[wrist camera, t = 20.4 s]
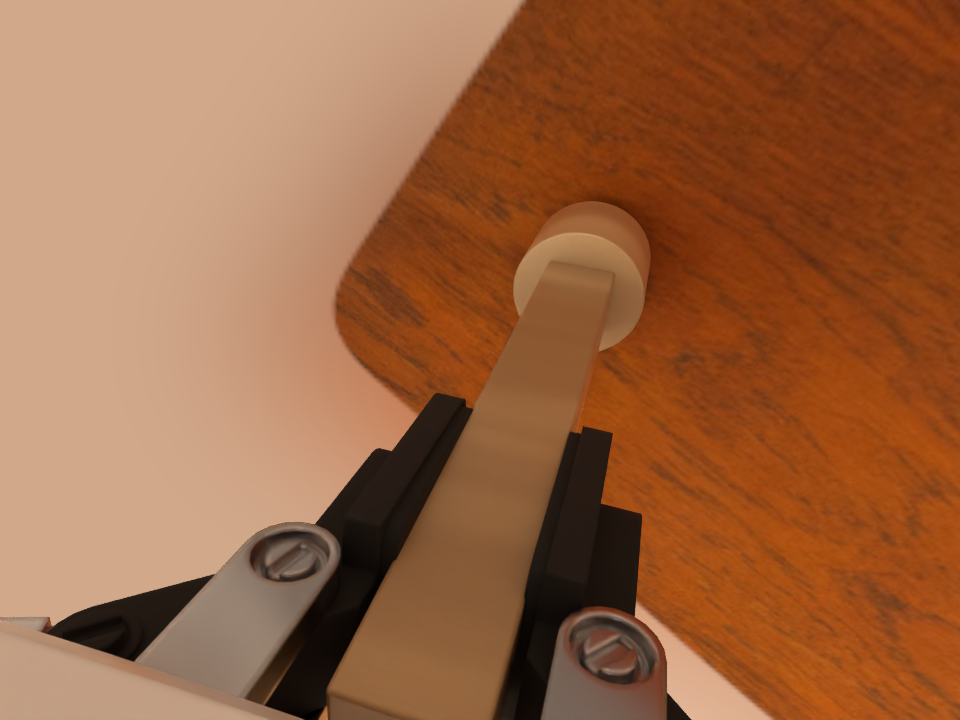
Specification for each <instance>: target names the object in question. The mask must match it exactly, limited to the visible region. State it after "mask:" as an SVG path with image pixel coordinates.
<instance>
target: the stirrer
mask: <svg viewBox="0 0 960 720" xmlns="http://www.w3.org/2000/svg"><path fill="white" fill-rule="evenodd" d="M650 262H651V253H650V246H649V243H648V239H647V237H646V235H645V233H644V231H643V229H642V228H641V226H640V225H639V224H638V222H637V221H636V220H635V219H634V218H633V217H632V216H631V215H629V214H628V213H627V212H625V211H624V210H622V209H620V208H618V207H616V206H614V205H611V204H608V203H604V202H597V201H585V202H579V203H575V204H571V205H569V206H566V207H564V208H562V209H561V210H559V211H557V212H556V213H555V214H554V215H552V216H551V217H550V218H549V219H548V220H547V221H546V223H545V224H544V225H543V227H542V228H541V230H540V231H539V233H538V235H537V236H536V238H535V239H534V241H533V243H532V244H531V246H530V248H529V249H528V251H527V252H526V254H525V256H524V257H523V259H522V260H521V262H520V264H519V266H518V268H517V271H516V274H515V278H514V284H513V295H514V301H515V306H516V309H517V311H518V314H519V316H520V318H519V320H518V322H517V324H516V326H515V328H514V330H513V332H512V334H511V336H510V337H509V339H508V341H507V343H506V345H505V347H504V349H503V351H502V353H501V355H500V357H499V359H498V360H497V362H496V364H495V366H494V368H493V370H492V372H491V374H490V376H489V378H488V380H487V382H486V383H485V385H484V387H483V389H482V391H481V393H480V395H479V397H478V399H477V401H476V403H475V405H474V406H473V408H472V409H474V410H473V411H472V413H471V415H470V417H469V419H468V421H467V423H466V425H465V427H464V429H463V431H462V433H461V435H460V437H459V439H458V441H457V443H456V444H455V446H454V448H453V450H452V452H451V454H450V456H449V458H448V460H447V462H446V464H445V466H444V468H443V470H442V472H441V474H440V476H439V477H438V479H437V481H436V483H435V485H434V487H433V489H432V491H431V493H430V495H429V497H428V499H427V501H426V503H425V505H424V507H423V509H422V510H421V512H420V514H419V516H418V518H417V520H416V522H415V524H414V526H413V528H412V530H411V532H410V534H409V536H408V538H407V540H406V542H405V543H404V545H403V547H402V549H401V551H400V553H399V555H398V557H397V559H396V560H394V561H393V562H392V564H391V566H390V568H389V569H388V571H387V573H386V575H385V577H384V579H383V581H382V583H381V585H380V587H379V589H378V591H377V592H376V594H375V596H374V598H373V600H372V602H371V604H370V606H369V608H368V610H367V612H366V614H365V616H364V617H363V619H362V621H361V623H360V625H359V627H358V629H357V631H356V633H355V635H354V637H353V639H352V640H351V642H350V644H349V646H348V648H347V650H346V652H345V654H344V656H343V658H342V660H341V662H340V663H339V665H338V667H337V669H336V671H335V673H334V675H333V677H332V679H331V681H330V683H329V685H328V686H327V691H326V696H327V713H328V720H502V716H503V713H504V709H505V705H506V701H507V697H508V694H509V689H510V683H511V678H512V673H513V667H514V662H515V657H516V651H517V646H518V641H519V635H520V630H521V625H522V619H523V614H524V609H525V604H526V600H525V597H524V595H525V589H526V584H527V579H528V575H529V570H530V566H531V562H532V558H533V555H534V551H535V548H536V544H537V541H538V538H539V534H540V531H541V527H542V524H543V521H544V517H545V514H546V511H547V507H548V504H549V500H550V497H551V494H552V490H553V487H554V483H555V480H556V477H557V473H558V470H559V466H560V463H561V460H562V456H563V453H564V449H565V446H566V443H567V439H568V436H569V433H570V431H571V432H575V433H577V431H578V427H579V423H580V419H581V415H582V412H583V408H584V404H585V400H586V396H587V393H588V389H589V385H590V381H591V377H592V374H593V370H594V366H595V362H596V358H597V355H598V351H601V350H604V349H607V348H609V347H611V346H614V345H615V344H617V343H619V342H620V341H622V340H623V339H624V338H625V337H626V336H627V335H628V334H629V333H630V332H631V331H632V330H633V329H634V327H635V326H636V324H637V322H638V320H639V318H640V316H641V313H642V310H643V306H644V300H645V293H646V287H647V281H648V275H649V269H650Z"/></svg>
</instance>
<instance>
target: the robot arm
mask: <svg viewBox="0 0 960 720" xmlns="http://www.w3.org/2000/svg"><path fill="white" fill-rule="evenodd" d="M473 410H474V409H472V408H467V407H466V401H465V399H462V398H458V397H453V396H449V395H445V394H440V393H436V394H435V395H434V396H433V397H432V398H431V400H430V401H429V402H428V404H427V405H426V406H425V408H424V409H423V410H422V412H421V413H420V414H419V416H418V417H417V418H416V420H415V421H414V422H413V424H412V425H411V426H410V428H409V429H408V431H407V432H406V433H405V435H404V436H403V437H402V439H401V440H400V441H399V443H398V444H397V445H396V447H395V448H394V449H393V451H389V450H385V449H381V448H379V449H376V450H374V451H373V452H372V453H371V455H370V456H369V457H368V459H367V460H366V461H365V462H364V463H363V465H362V466H361V467H360V468H359V470H358V471H357V472H356V473H355V475H354V476H353V477H352V478H351V480H350V481H349V482H348V483H347V485H346V486H345V487H344V489H343V490H342V491H341V492H340V493H339V495H338V496H337V498H336V499H335V500H334V501H333V502H332V504H331V505H330V506H329V507H328V509H327V510H326V511H325V512H324V514H323V515H322V516H321V517H320V519H319V520H318V521H317V522H316V524H309V523H303V522H288V523H281V524H277V525H273V526H270V527H267V528H265V529H263V530H261V531H259V532H257V533H256V534H254V535H253V536H252V537H251V538H249V539H248V540H247V541H246V542H245V543H244V544H243V545H242V546H241V547H240V548H239V549H238V551H237V552H236V553H235V554H234V555H233V556H232V557H231V558H230V559H229V560H228V562H226V563H225V565H224V566H223V567H222V568H221V569H220V570H219V571H218V572H217V573H216V574H213V575H210V576H206V577H202V578H198V579H195V580H191V581H187V582H183V583H180V584H176V585H172V586H168V587H164V588H161V589H157V590H153V591H149V592H146V593H142V594H138V595H135V596H131V597H127V598H123V599H120V600H115V601H112V602H108V603H104V604H101V605H97V606H93V607H90V608H87V609H85V610H82V611H79V612H77V613H74V614H72V615H71V616H69V617H67V618H66V619H64V620H62V621H60V622H59V623H57V624H56V625H55V626H51V622H50V617H5V618H4V617H1V618H0V720H328V713H327V696H326V691H327V686H328V685H329V683H330V681H331V679H332V677H333V675H334V673H335V671H336V669H337V667H338V665H339V663H340V662H341V660H342V658H343V656H344V654H345V652H346V650H347V648H348V646H349V644H350V642H351V640H352V639H353V637H354V635H355V633H356V631H357V629H358V627H359V625H360V623H361V621H362V619H363V617H364V616H365V614H366V612H367V610H368V608H369V606H370V604H371V602H372V600H373V598H374V596H375V594H376V592H377V591H378V589H379V587H380V585H381V583H382V581H383V579H384V577H385V575H386V573H387V571H388V569H389V568H390V566H391V564H392V562H393V561H394V560H396V559H397V557H398V555H399V553H400V551H401V549H402V547H403V545H404V543H405V542H406V540H407V538H408V536H409V534H410V532H411V530H412V528H413V526H414V524H415V522H416V520H417V518H418V516H419V514H420V512H421V510H422V509H423V507H424V505H425V503H426V501H427V499H428V497H429V495H430V493H431V491H432V489H433V487H434V485H435V483H436V481H437V479H438V477H439V476H440V474H441V472H442V470H443V468H444V466H445V464H446V462H447V460H448V458H449V456H450V454H451V452H452V450H453V448H454V446H455V444H456V443H457V441H458V439H459V437H460V435H461V433H462V431H463V429H464V427H465V425H466V423H467V421H468V419H469V417H470V415H471V413H472V411H473ZM612 435H613V433H610V432H606V431H601V430H597V429H593V428H588V427H584V426H583V429H582V433H581V434H580V433H575V432H571V431H570V433H569V436H568V439H567V443H566V446H565V449H564V453H563V456H562V460H561V463H560V466H559V470H558V473H557V477H556V480H555V483H554V487H553V490H552V494H551V497H550V500H549V504H548V507H547V511H546V514H545V517H544V521H543V524H542V527H541V531H540V534H539V538H538V541H537V544H536V548H535V551H534V555H533V558H532V562H531V566H530V570H529V575H528V579H527V584H526V589H525V595H524V597H525V600H526V604H525V609H524V614H523V619H522V625H521V630H520V635H519V641H518V646H517V651H516V657H515V662H514V667H513V673H512V678H511V683H510V689H509V694H508V697H507V701H506V705H505V709H504V713H503V716H502V720H691V719H690V718H689V717H688V715H686V713H685V712H684V711H683V710H682V709H681V708H680V706H679V705H678V704H677V703H676V702H675V701H674V700H673V699H672V697H671V696H670V695H669V694H668V693H667V661H666V656H665V651H664V648H663V646H662V644H661V643H660V641H659V639H658V637H657V636H656V635H655V634H654V633H653V632H652V630H650V629H649V627H648V626H647V625H646V624H644V623H643V622H641V621H640V620H638V619H637V618H635V605H636V592H637V579H638V565H639V552H640V538H641V525H642V515H641V514H640V513H636V512H632V511H628V510H624V509H620V508H616V507H612V506H608V505H604V504H601V498H602V493H603V487H604V481H605V475H606V470H607V464H608V458H609V452H610V446H611V441H612Z"/></svg>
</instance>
